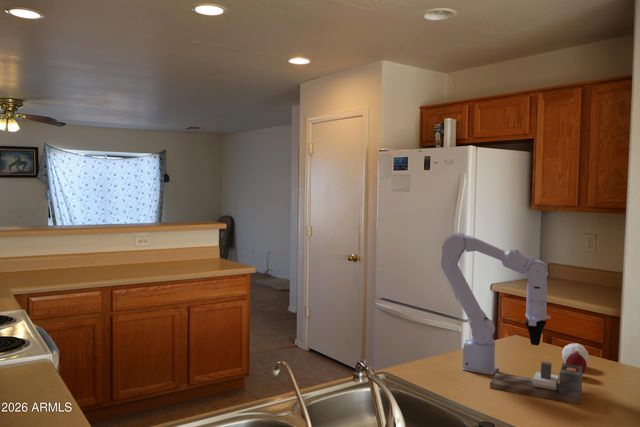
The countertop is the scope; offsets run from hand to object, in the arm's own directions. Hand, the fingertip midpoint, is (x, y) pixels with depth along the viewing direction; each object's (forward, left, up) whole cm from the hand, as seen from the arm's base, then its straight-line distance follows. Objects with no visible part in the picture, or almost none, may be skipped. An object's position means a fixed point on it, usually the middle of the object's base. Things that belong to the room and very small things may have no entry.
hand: (535, 344), depth 162 cm
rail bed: (+2, -12, -10) cm, 16 cm away
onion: (+11, +7, -10) cm, 17 cm away
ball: (+10, +17, -10) cm, 22 cm away
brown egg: (+11, -12, -6) cm, 17 cm away
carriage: (+5, -12, -8) cm, 15 cm away
